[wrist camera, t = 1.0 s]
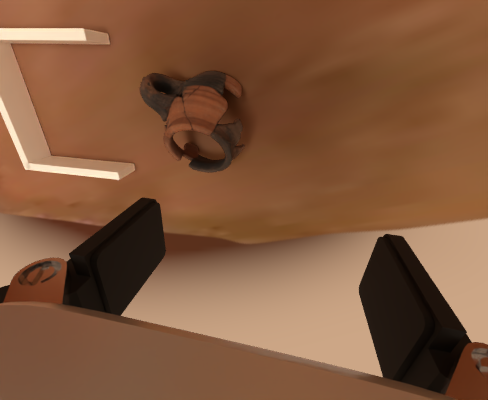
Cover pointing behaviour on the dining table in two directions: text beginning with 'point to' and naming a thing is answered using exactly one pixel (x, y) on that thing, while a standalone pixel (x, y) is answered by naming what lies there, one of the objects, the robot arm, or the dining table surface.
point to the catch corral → (23, 113)
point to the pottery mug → (195, 114)
